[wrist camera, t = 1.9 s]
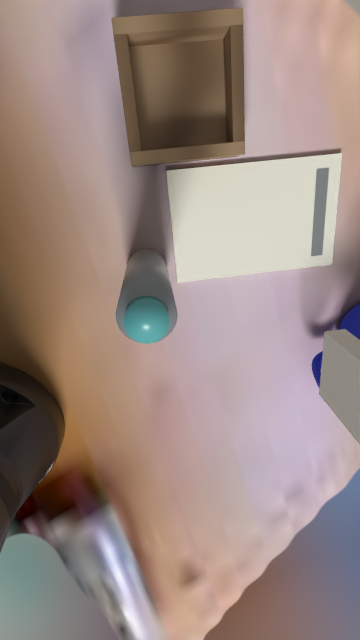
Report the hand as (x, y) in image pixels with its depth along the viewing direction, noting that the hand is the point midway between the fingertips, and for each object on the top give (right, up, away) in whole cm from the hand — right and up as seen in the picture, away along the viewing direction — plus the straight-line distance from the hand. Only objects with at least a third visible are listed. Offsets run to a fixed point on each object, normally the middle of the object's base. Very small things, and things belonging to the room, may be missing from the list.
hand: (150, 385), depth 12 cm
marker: (-2, +7, +16) cm, 18 cm away
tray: (+1, +18, +12) cm, 22 cm away
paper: (+7, +11, +16) cm, 20 cm away
